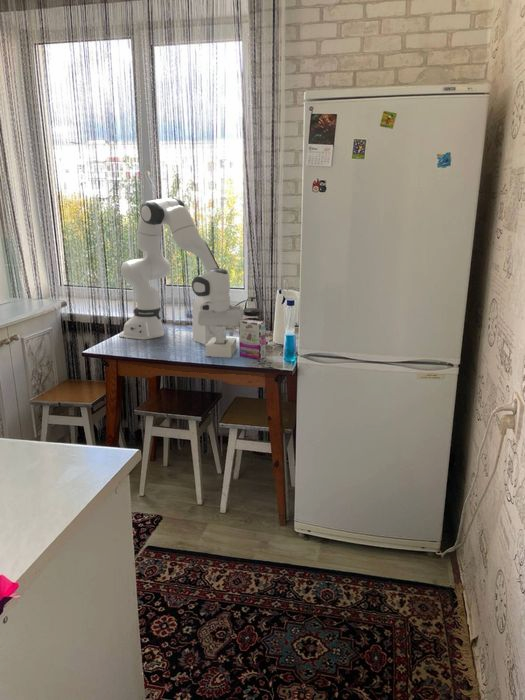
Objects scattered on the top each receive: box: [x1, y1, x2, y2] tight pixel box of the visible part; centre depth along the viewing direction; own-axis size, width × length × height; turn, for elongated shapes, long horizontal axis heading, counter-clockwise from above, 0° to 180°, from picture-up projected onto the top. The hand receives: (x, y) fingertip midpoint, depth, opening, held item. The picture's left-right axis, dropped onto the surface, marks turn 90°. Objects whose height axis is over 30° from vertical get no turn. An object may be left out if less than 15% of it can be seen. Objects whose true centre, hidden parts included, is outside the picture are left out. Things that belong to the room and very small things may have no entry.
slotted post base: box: [204, 337, 237, 358], centre depth 238 cm, size 12×14×5 cm
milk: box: [192, 296, 216, 346], centre depth 254 cm, size 12×12×26 cm
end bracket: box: [216, 326, 227, 345], centre depth 237 cm, size 4×6×13 cm, turn 173°
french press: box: [243, 296, 263, 321], centre depth 247 cm, size 12×9×23 cm
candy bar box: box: [238, 318, 267, 361], centre depth 230 cm, size 11×5×16 cm, turn 59°
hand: (221, 335), depth 236 cm, fingers open, 8 cm apart
